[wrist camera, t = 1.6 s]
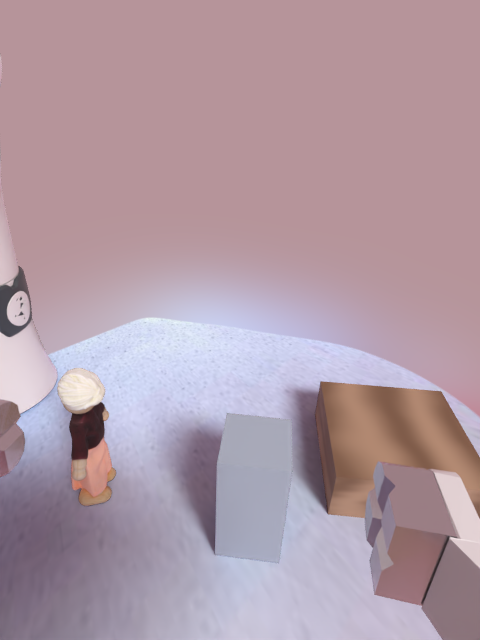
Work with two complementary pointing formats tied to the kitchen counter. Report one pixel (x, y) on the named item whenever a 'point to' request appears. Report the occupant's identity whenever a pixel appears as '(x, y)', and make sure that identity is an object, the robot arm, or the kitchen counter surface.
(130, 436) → the kitchen counter surface
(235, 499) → the slate pillar block
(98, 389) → the grandmother figurine
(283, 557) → the kitchen counter surface
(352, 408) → the walnut block
